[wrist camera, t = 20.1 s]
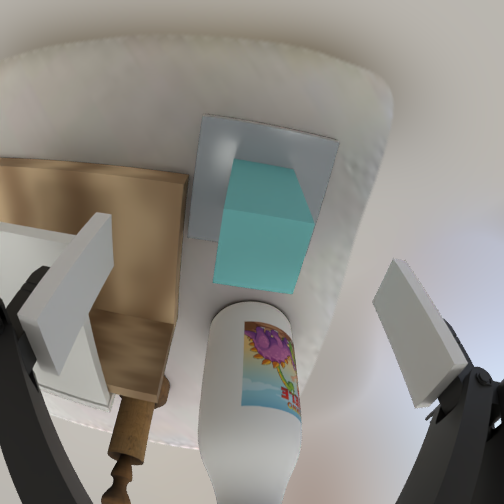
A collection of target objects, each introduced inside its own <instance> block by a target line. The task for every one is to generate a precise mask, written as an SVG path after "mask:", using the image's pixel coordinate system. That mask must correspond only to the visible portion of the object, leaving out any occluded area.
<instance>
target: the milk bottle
mask: <svg viewBox="0 0 504 504" xmlns="http://www.w3.org/2000/svg"><path fill="white" fill-rule="evenodd" d="M301 439H302V424H301V408H300V398H299V388H298V378H297V370H296V361H295V353H294V345H293V337H292V331H291V326H290V323H289V321H288V319H287V318H286V317H285V315H284V314H283V313H282V312H280V311H279V310H278V309H276V308H275V307H273V306H271V305H268V304H265V303H260V302H251V301H248V302H240V303H236V304H232V305H230V306H228V307H226V308H224V309H223V310H221V311H220V312H219V313H218V314H217V315H216V316H215V318H214V319H213V321H212V323H211V325H210V331H209V336H208V343H207V350H206V358H205V366H204V374H203V382H202V390H201V400H200V409H199V422H198V444H199V450H200V454H201V458H202V460H203V463H204V466H205V468H206V470H207V472H208V475H209V477H210V480H211V482H212V485H213V488H214V492H215V495H216V500H217V504H282V501H283V497H284V493H285V490H286V486H287V483H288V481H289V479H290V476H291V474H292V472H293V469H294V468H295V465H296V463H297V460H298V457H299V453H300V448H301V441H302V440H301Z"/></svg>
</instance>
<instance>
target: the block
mask: <svg viewBox="0 0 504 504" xmlns="http://www.w3.org/2000/svg"><path fill="white" fill-rule="evenodd" d="M314 225H315V223H314V220H313V218H312V215H311V212H310V210H309V207H308V204H307V202H306V199H305V197H304V194H303V192H302V189H301V187H300V184H299V182H298V179H297V177H296V174H295V172H294V169H289V168H284V167H279V166H273V165H268V164H263V163H257V162H251V161H245V160H239V159H234V160H233V165H232V170H231V175H230V180H229V184H228V189H227V194H226V199H225V204H224V210H223V216H222V223H221V229H220V236H219V242H218V249H217V256H216V263H215V270H214V277H213V283H217V284H224V285H230V286H237V287H244V288H251V289H258V290H265V291H272V292H279V293H287V294H293V291H294V288H295V285H296V282H297V279H298V276H299V273H300V270H301V267H302V264H303V261H304V257H305V254H306V251H307V248H308V245H309V242H310V238H311V235H312V232H313V229H314Z"/></svg>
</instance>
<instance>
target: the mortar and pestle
mask: <svg viewBox="0 0 504 504" xmlns="http://www.w3.org/2000/svg"><path fill="white" fill-rule="evenodd" d="M169 388H170V384H169V382H168V380H167V378H166V377H165V376H163V381H162V385H161V390H160V395H159V399H158V403H154V402H149V401H145V400H140V399H136V398H131V397H127V396H123V395H119V396H120V397H121V398H122V400H121V404H120V408H119V411H118V415H117V419H116V423H115V426H114V430H113V434H112V438H111V442H110V445H109V449H108V455H109V456H110V457H111V458H112V459H114V460H117V463H116V464H115V466H114V468H113V470H112V472H111V476H112V477H113V479H114V480H113V485H112V486H111V487H110V488H109V489H108V490H107V491H106V492H105V493H104V494H103V496H102V499H101V503H102V504H131V502H130V499H129V496H128V494H127V491H126V487H127V484H128V483H129V482H131V481H132V466H131V465H142V464H143V463H144V456H145V451H146V445H147V440H148V434H149V429H150V424H151V420H152V415H153V411H154V409H156V408H158V407H161V406H163V405H164V404H165V403H166V401H167V398H168V393H169Z"/></svg>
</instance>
